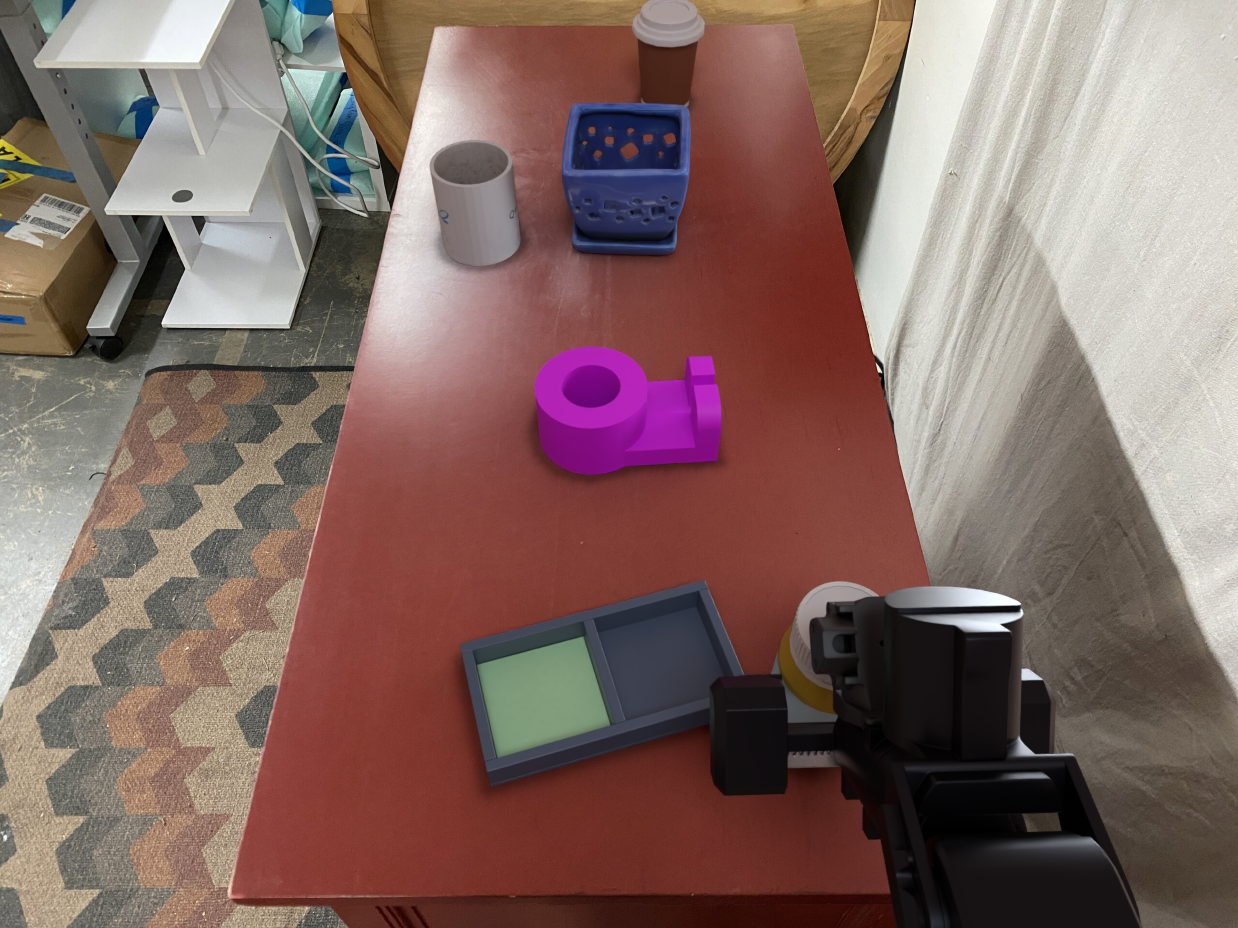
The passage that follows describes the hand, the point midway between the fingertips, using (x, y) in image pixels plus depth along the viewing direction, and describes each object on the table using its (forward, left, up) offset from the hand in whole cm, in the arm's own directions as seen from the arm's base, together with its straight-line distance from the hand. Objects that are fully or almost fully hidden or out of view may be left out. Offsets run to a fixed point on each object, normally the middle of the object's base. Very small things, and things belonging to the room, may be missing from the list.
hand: (839, 679), depth 59 cm
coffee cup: (+86, -17, -10) cm, 88 cm away
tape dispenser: (+32, +5, -10) cm, 34 cm away
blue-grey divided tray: (+8, +14, -9) cm, 18 cm away
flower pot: (+61, -4, -10) cm, 62 cm away
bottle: (+1, 0, -10) cm, 10 cm away
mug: (+66, +11, -10) cm, 67 cm away
